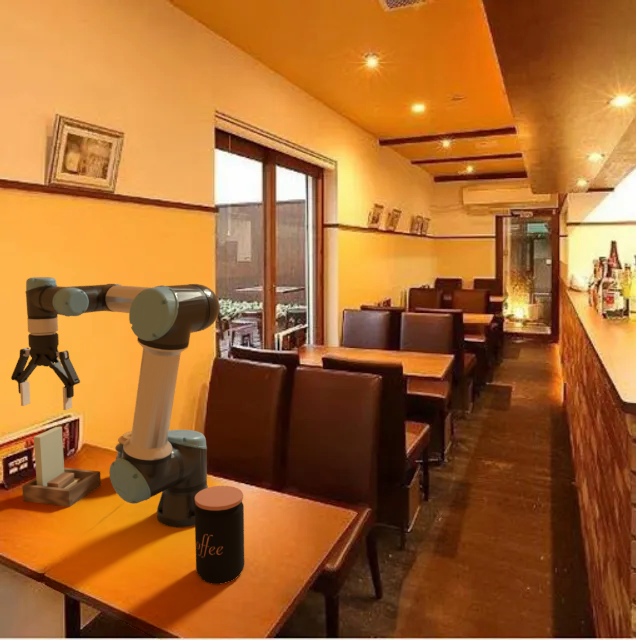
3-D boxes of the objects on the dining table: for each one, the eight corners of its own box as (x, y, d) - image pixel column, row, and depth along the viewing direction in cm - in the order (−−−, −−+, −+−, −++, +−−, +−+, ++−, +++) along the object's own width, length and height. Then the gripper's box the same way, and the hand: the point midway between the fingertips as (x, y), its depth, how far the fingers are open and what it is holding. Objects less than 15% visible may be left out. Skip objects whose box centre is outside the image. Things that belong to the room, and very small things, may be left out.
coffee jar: (187, 571, 124) (184, 495, 122) (226, 553, 131) (225, 481, 129) (213, 592, 117) (212, 511, 114) (254, 572, 124) (253, 495, 122)
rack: (101, 490, 165) (100, 471, 164) (70, 512, 152) (68, 491, 151) (57, 485, 169) (56, 466, 168) (23, 506, 155) (22, 485, 154)
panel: (65, 485, 165) (61, 427, 163) (43, 498, 156) (39, 437, 154) (59, 485, 165) (55, 427, 163) (37, 498, 157) (33, 437, 154)
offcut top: (74, 481, 162) (73, 473, 162) (58, 492, 155) (58, 483, 155) (63, 480, 163) (63, 472, 162) (47, 491, 155) (47, 482, 155)
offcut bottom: (80, 486, 164) (80, 478, 164) (57, 501, 155) (57, 493, 154) (69, 485, 165) (68, 477, 165) (45, 499, 156) (44, 491, 155)
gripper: (91, 333, 155) (93, 406, 158) (14, 328, 160) (18, 399, 163) (74, 337, 147) (77, 414, 150) (-6, 332, 152) (-2, 406, 155)
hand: (46, 406), depth 157 cm, fingers open, 13 cm apart
